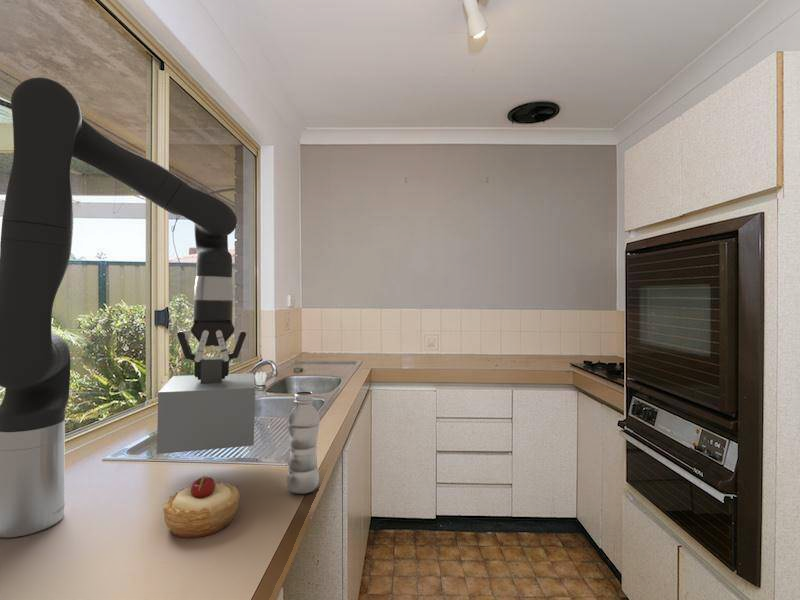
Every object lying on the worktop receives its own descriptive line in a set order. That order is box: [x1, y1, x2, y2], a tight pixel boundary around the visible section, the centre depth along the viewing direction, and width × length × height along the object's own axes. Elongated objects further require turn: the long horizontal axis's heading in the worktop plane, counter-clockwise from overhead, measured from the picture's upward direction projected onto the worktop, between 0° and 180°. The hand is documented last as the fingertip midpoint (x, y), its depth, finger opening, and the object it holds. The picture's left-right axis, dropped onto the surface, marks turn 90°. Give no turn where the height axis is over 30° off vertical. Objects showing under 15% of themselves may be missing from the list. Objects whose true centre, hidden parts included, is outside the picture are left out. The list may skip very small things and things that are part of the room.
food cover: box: [156, 356, 256, 455], centre depth 91 cm, size 17×17×17 cm
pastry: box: [163, 475, 241, 539], centre depth 75 cm, size 12×12×9 cm
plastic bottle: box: [286, 390, 321, 495], centre depth 87 cm, size 6×7×20 cm
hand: (211, 378), depth 91 cm, fingers closed on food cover, 4 cm apart
